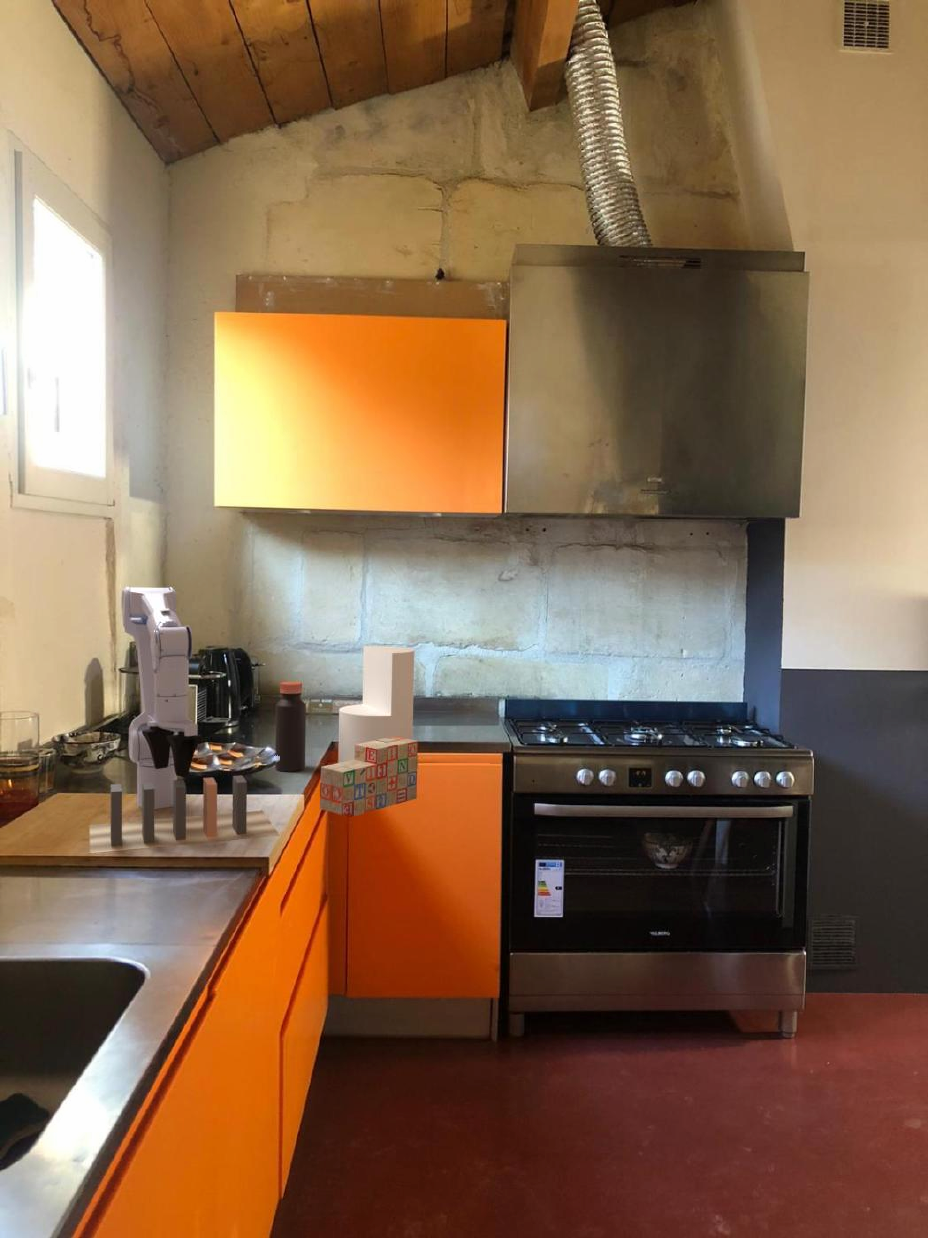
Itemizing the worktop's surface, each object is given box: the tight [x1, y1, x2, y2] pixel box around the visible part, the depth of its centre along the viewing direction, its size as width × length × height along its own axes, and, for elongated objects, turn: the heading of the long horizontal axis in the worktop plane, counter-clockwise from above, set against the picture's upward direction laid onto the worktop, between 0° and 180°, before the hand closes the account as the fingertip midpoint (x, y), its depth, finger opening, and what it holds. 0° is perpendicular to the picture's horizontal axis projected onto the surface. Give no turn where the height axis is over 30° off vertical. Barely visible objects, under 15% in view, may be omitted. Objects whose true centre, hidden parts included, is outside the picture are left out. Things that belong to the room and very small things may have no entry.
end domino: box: [232, 775, 248, 835], centre depth 153 cm, size 2×5×9 cm, turn 23°
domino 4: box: [202, 777, 218, 837], centre depth 151 cm, size 2×5×9 cm, turn 24°
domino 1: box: [110, 783, 123, 847], centre depth 146 cm, size 2×5×9 cm, turn 23°
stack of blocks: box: [319, 737, 419, 818], centre depth 175 cm, size 21×6×12 cm, turn 142°
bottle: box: [274, 681, 307, 773], centre depth 204 cm, size 7×7×20 cm
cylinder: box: [337, 645, 415, 763], centre depth 206 cm, size 17×17×28 cm
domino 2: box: [141, 782, 155, 843], centre depth 148 cm, size 2×5×9 cm, turn 23°
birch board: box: [89, 809, 280, 855], centre depth 153 cm, size 16×30×1 cm, turn 113°
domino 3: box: [172, 779, 187, 840], centre depth 150 cm, size 2×5×9 cm, turn 24°
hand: (171, 771), depth 156 cm, fingers open, 7 cm apart
